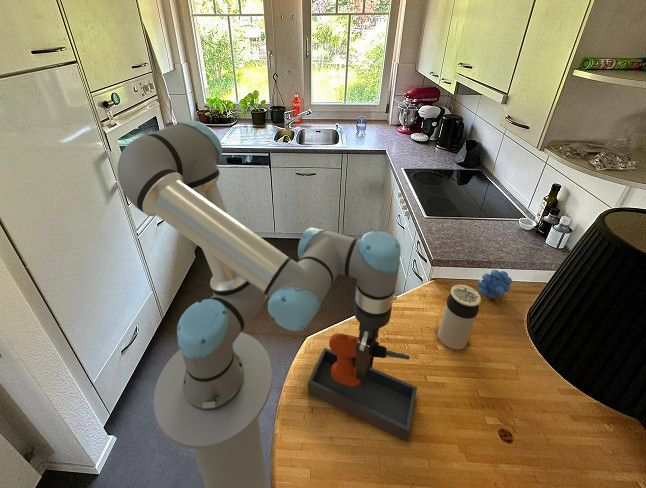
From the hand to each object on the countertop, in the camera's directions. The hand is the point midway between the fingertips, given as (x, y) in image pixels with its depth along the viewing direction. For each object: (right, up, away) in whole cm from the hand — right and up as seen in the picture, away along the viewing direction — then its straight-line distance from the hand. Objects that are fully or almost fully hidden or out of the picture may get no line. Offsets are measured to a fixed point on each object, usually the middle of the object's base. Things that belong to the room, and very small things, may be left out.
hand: (364, 371), depth 77 cm
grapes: (+49, +6, +32) cm, 59 cm away
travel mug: (+30, -1, +19) cm, 35 cm away
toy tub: (0, -9, +5) cm, 10 cm away
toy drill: (0, -4, +2) cm, 4 cm away
